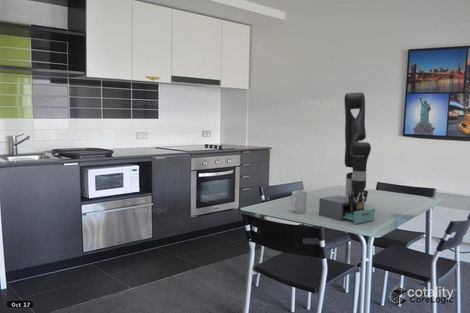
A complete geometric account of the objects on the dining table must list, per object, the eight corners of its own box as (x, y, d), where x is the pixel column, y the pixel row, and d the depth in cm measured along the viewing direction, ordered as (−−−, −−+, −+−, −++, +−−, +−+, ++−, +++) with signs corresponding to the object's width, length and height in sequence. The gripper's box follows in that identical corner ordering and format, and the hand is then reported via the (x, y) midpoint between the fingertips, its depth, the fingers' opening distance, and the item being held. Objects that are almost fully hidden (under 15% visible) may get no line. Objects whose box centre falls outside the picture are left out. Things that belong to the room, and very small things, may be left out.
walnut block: (364, 211, 229) (364, 202, 228) (358, 212, 226) (358, 203, 225) (356, 209, 233) (357, 200, 232) (350, 210, 230) (351, 201, 229)
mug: (308, 212, 248) (308, 191, 247) (302, 214, 243) (303, 193, 241) (293, 209, 254) (293, 189, 253) (287, 211, 249) (287, 191, 247)
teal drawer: (350, 214, 243) (351, 203, 242) (375, 220, 230) (375, 208, 229) (331, 217, 234) (332, 206, 233) (356, 224, 221) (356, 212, 220)
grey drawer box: (337, 211, 251) (338, 195, 250) (359, 216, 238) (360, 200, 237) (318, 214, 242) (319, 198, 241) (341, 220, 229) (341, 203, 228)
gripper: (356, 181, 220) (354, 213, 222) (373, 179, 229) (371, 210, 230) (344, 179, 226) (343, 210, 228) (361, 177, 235) (360, 207, 236)
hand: (357, 210), depth 229 cm, fingers closed on walnut block, 5 cm apart
